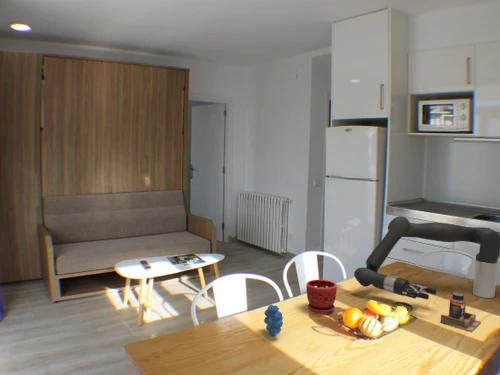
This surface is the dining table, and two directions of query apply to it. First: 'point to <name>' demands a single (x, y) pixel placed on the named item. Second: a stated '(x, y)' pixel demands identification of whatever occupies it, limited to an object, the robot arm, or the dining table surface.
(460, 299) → the supplement bottle
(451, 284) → the dining table surface
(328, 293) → the plant pot
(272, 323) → the grapes
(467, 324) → the wooden tray
